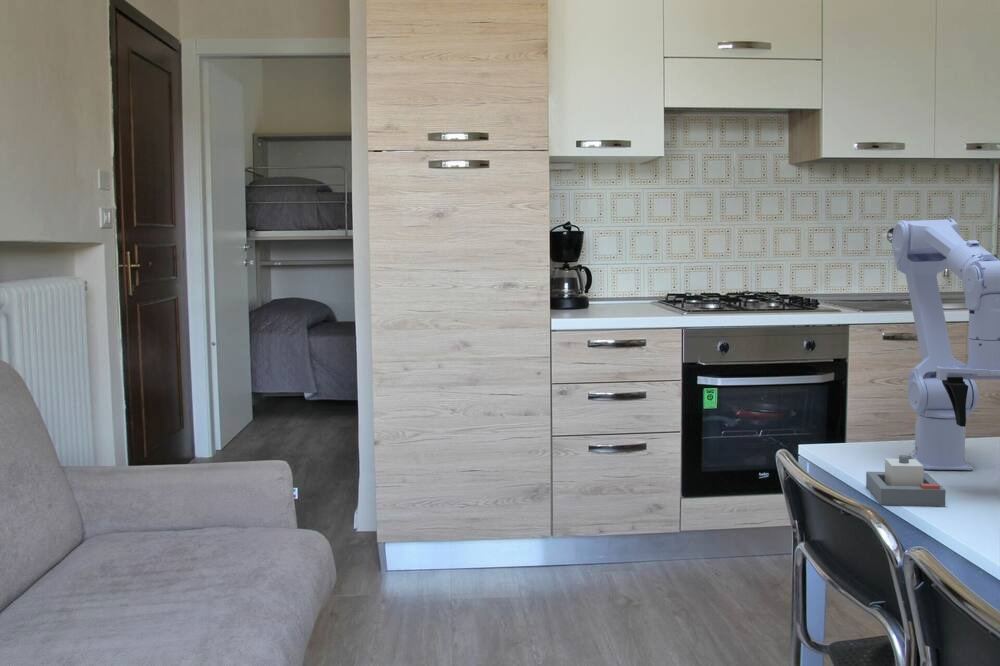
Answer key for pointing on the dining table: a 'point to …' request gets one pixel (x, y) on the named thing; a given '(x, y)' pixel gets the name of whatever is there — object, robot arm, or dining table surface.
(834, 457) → the dining table surface
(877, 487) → the socket plate
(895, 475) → the plug
